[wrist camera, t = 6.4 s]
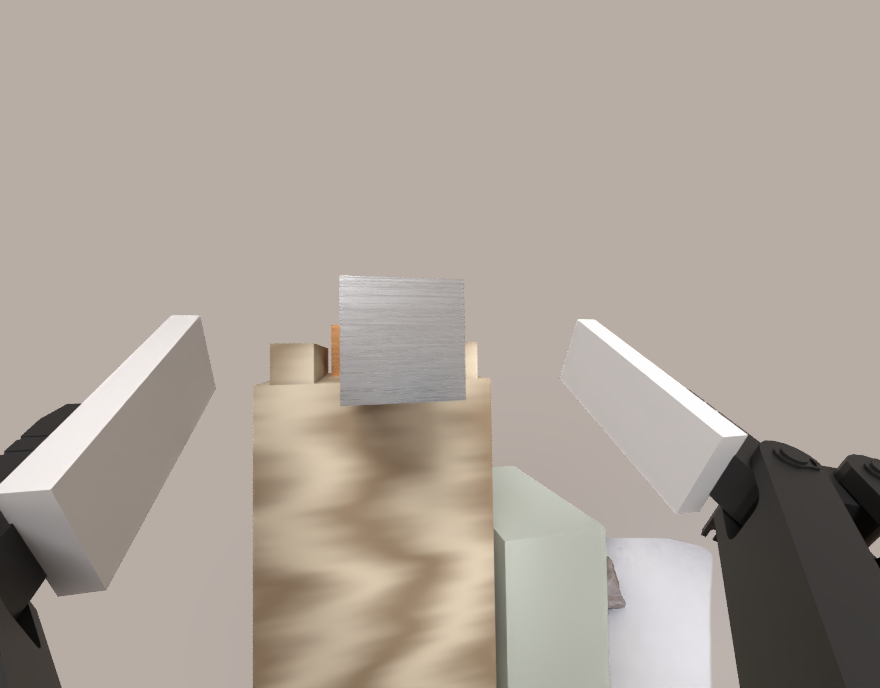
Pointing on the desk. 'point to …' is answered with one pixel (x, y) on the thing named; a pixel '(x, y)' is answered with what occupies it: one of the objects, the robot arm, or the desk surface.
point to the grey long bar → (399, 340)
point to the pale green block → (547, 588)
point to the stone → (613, 587)
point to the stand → (370, 534)
